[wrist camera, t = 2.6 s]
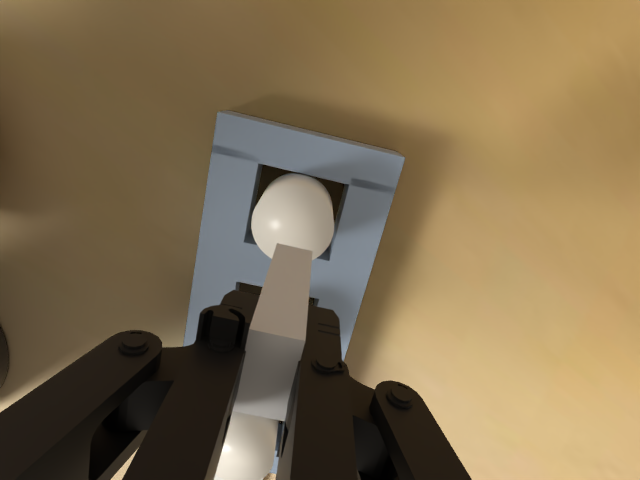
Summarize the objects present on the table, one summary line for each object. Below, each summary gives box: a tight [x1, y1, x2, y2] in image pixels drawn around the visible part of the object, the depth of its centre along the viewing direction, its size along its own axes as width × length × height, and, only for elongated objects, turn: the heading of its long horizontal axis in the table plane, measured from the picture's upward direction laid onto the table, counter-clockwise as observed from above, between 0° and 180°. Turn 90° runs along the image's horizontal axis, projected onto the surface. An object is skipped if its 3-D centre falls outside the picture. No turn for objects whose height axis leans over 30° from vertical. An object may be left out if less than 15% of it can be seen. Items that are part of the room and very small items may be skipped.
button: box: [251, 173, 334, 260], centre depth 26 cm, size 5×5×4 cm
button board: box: [183, 110, 405, 474], centre depth 31 cm, size 28×12×3 cm, turn 167°
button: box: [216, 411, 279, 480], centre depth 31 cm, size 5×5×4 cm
